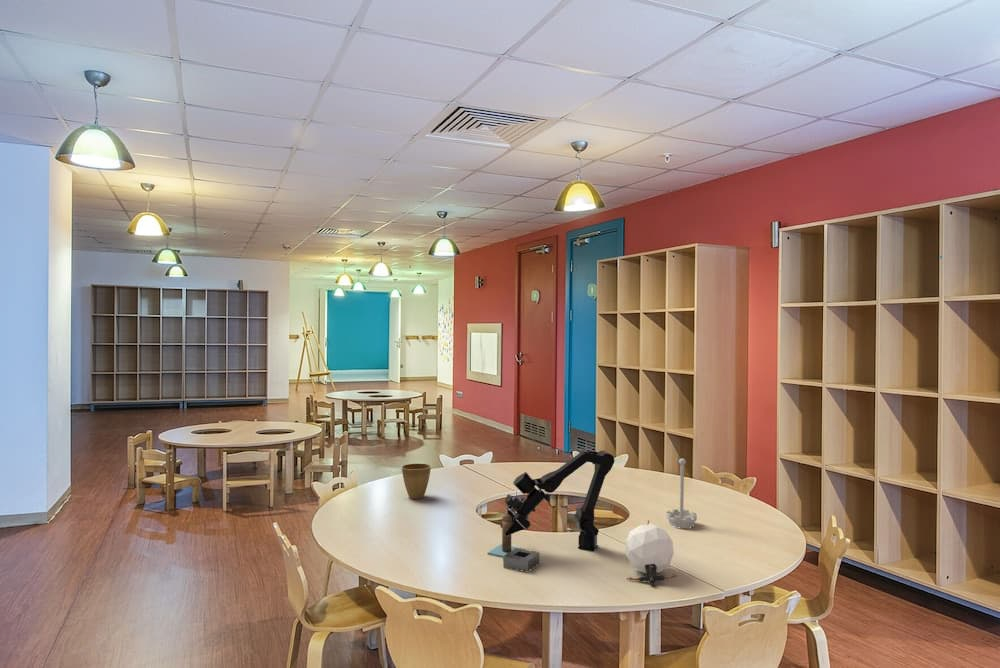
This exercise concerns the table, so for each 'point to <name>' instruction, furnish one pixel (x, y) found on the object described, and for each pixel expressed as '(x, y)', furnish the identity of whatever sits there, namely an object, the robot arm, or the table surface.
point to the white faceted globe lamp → (649, 552)
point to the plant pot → (416, 479)
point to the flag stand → (681, 507)
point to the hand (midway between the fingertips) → (503, 531)
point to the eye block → (521, 559)
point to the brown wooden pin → (505, 525)
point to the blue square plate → (500, 551)
